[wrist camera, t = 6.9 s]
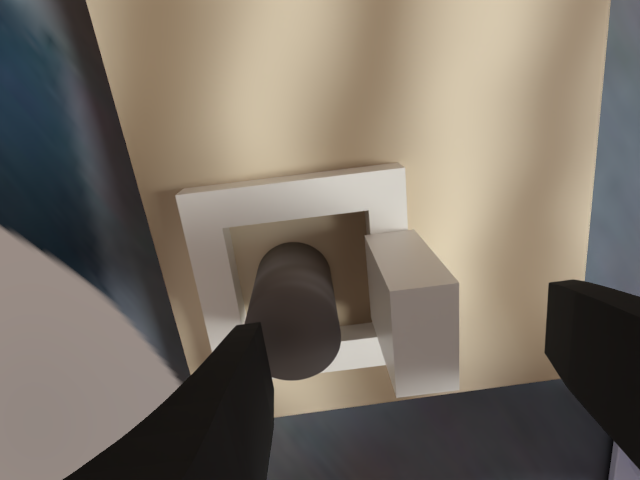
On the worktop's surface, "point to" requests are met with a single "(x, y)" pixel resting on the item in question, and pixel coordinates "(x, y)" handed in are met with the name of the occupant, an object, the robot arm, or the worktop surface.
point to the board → (368, 161)
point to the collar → (381, 256)
